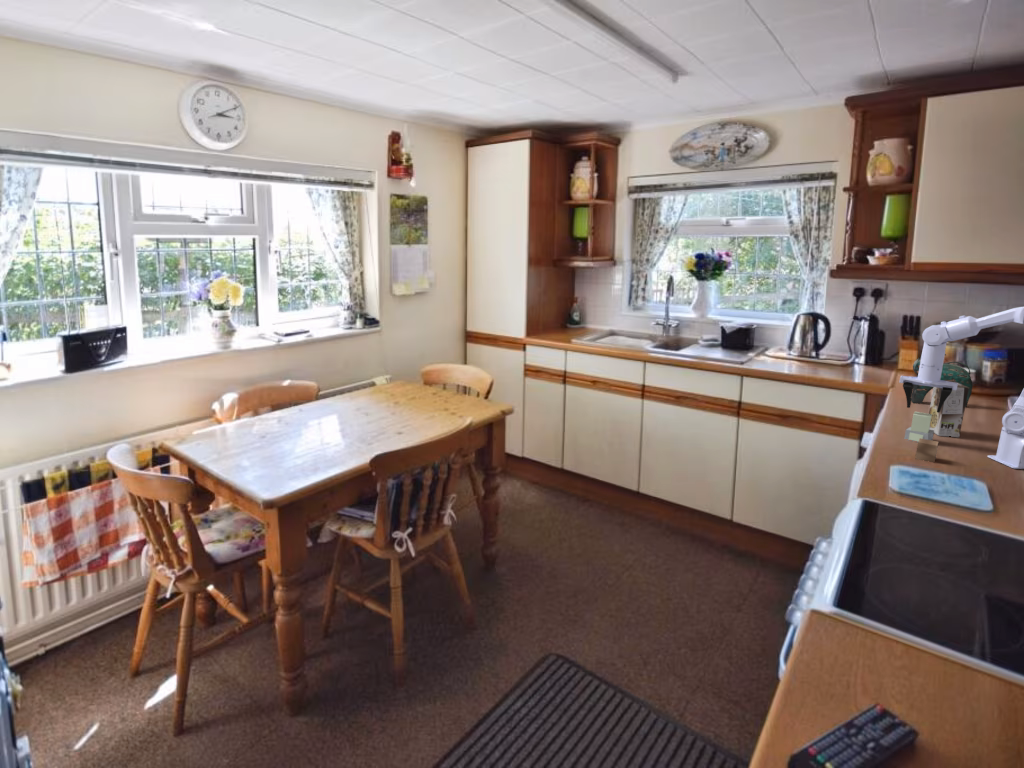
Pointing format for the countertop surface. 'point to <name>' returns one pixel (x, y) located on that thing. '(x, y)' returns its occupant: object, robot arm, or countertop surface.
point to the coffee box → (948, 411)
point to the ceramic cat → (948, 374)
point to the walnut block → (926, 450)
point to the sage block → (921, 422)
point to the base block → (918, 435)
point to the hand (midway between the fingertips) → (923, 409)
